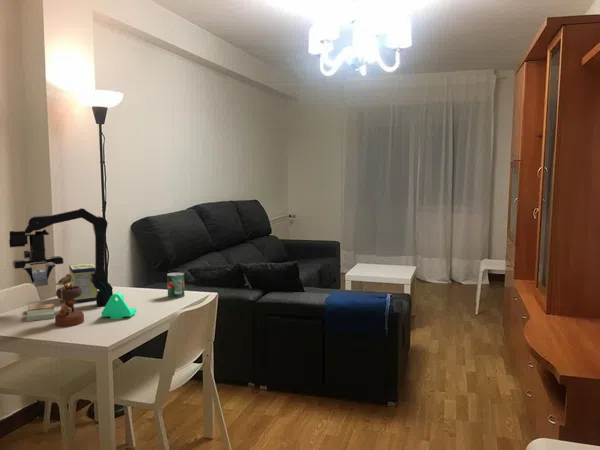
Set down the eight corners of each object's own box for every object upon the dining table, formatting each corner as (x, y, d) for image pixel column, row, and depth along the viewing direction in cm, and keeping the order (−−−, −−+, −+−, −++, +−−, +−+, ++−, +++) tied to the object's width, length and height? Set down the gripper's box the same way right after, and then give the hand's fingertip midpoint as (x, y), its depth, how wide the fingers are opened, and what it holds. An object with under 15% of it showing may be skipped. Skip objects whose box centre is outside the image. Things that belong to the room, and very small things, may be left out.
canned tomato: (164, 297, 250) (163, 274, 248) (176, 293, 256) (175, 271, 255) (176, 299, 245) (175, 276, 244) (188, 295, 252) (187, 273, 251)
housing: (47, 285, 222) (47, 270, 222) (34, 286, 219) (34, 272, 219) (44, 282, 228) (43, 268, 227) (31, 283, 225) (30, 269, 224)
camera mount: (137, 314, 221) (136, 290, 220) (130, 319, 213) (129, 294, 212) (109, 313, 221) (108, 289, 220) (101, 318, 214) (100, 294, 213)
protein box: (93, 293, 258) (91, 262, 256) (98, 300, 244) (97, 267, 243) (70, 296, 252) (68, 264, 251) (74, 303, 239) (72, 269, 237)
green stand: (54, 313, 222) (53, 308, 222) (54, 318, 214) (54, 313, 214) (27, 315, 218) (27, 311, 218) (26, 321, 210) (26, 316, 210)
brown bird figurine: (80, 327, 202) (73, 276, 200) (50, 330, 200) (42, 279, 198) (90, 316, 217) (83, 268, 215) (62, 319, 215) (55, 272, 213)
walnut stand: (54, 308, 231) (53, 303, 230) (54, 311, 224) (53, 307, 224) (28, 310, 226) (28, 306, 226) (27, 314, 220) (27, 310, 220)
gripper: (56, 241, 234) (58, 276, 235) (9, 245, 222) (11, 281, 224) (62, 244, 225) (64, 280, 226) (13, 248, 214) (16, 286, 215)
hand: (39, 282), depth 223 cm, fingers closed on housing, 5 cm apart
